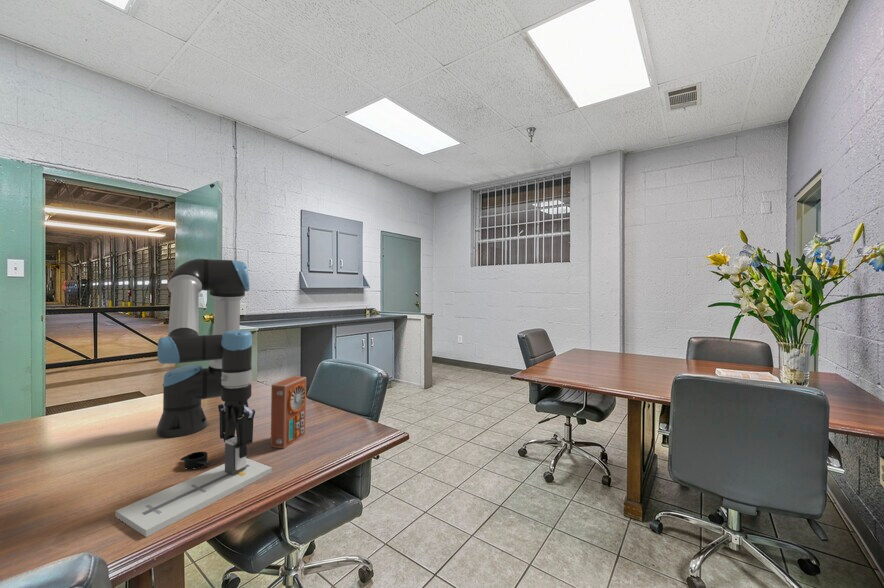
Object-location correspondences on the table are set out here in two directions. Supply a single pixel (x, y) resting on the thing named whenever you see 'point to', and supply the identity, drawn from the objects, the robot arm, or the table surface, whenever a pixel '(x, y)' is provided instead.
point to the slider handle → (231, 456)
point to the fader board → (187, 497)
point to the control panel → (288, 411)
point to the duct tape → (195, 460)
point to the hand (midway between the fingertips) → (235, 465)
